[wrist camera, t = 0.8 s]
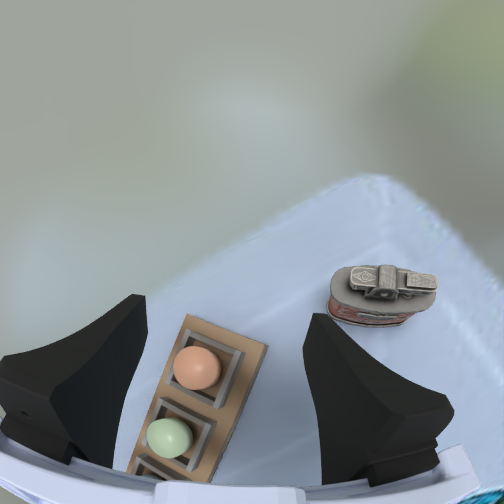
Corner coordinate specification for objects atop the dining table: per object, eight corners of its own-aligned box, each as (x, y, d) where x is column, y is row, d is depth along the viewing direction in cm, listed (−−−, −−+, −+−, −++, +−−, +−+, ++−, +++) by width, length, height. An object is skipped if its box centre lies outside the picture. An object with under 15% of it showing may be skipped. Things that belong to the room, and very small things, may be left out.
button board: (191, 520, 20) (177, 534, 17) (130, 484, 23) (111, 492, 19) (268, 345, 26) (261, 342, 23) (195, 317, 29) (179, 310, 26)
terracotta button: (212, 395, 22) (204, 397, 21) (176, 378, 23) (167, 377, 22) (227, 357, 23) (221, 356, 22) (191, 341, 25) (182, 339, 23)
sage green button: (185, 460, 20) (176, 465, 19) (152, 441, 21) (141, 444, 20) (198, 428, 21) (190, 432, 20) (164, 410, 22) (154, 412, 21)
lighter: (324, 323, 26) (329, 298, 17) (329, 288, 27) (334, 246, 18) (406, 330, 24) (449, 308, 15) (408, 295, 25) (448, 258, 16)
